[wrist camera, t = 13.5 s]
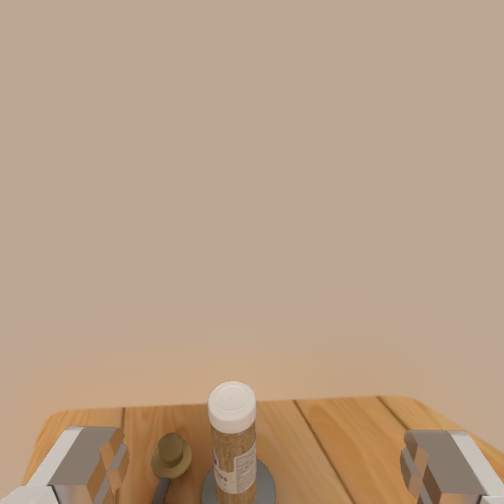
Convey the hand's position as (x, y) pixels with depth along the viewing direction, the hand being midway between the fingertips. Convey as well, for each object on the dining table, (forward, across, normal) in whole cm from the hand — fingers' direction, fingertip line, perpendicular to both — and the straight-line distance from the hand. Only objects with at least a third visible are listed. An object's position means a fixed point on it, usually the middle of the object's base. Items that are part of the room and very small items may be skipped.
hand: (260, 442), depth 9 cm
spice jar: (+15, +4, +28) cm, 32 cm away
